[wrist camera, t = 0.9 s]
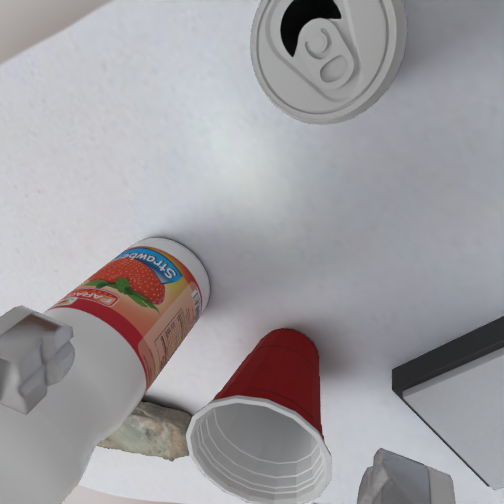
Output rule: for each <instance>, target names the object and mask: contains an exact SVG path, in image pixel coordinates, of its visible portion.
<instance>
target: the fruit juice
mask: <svg viewBox="0 0 504 504" xmlns="http://www.w3.org/2000/svg"><path fill="white" fill-rule="evenodd" d="M209 295H210V284H209V279H208V276H207V273H206V271H205V269H204V267H203V265H202V264H201V262H200V261H199V260H198V258H197V257H196V256H195V255H194V254H193V253H192V252H191V251H189V250H188V249H187V248H185V247H184V246H182V245H181V244H179V243H177V242H175V241H172V240H169V239H165V238H148V239H144V240H141V241H139V242H137V243H135V244H133V245H131V246H130V247H129V248H127V249H126V250H125V251H123V252H122V253H121V254H120V255H118V256H117V257H116V258H114V259H113V260H112V261H111V262H109V263H108V264H107V265H105V266H104V267H103V268H101V269H100V270H99V271H98V272H96V273H95V274H94V275H92V276H91V277H90V278H88V279H87V280H86V281H85V282H83V283H82V284H81V285H79V286H78V287H77V288H76V289H74V290H73V291H72V292H70V293H69V294H68V295H66V296H65V297H64V298H63V299H61V300H60V301H59V302H57V303H56V304H55V305H54V306H52V307H51V308H50V309H48V310H47V311H45V312H44V313H43V315H46V316H48V317H50V318H53V319H55V320H57V321H60V322H62V323H64V324H67V325H69V326H71V327H72V328H73V335H74V337H72V338H71V339H70V340H69V341H70V342H71V344H72V345H73V347H74V348H75V358H74V362H73V365H72V366H71V368H70V370H69V372H68V373H67V375H66V376H65V377H64V378H63V379H62V380H61V381H60V382H58V383H56V384H53V385H50V386H48V390H47V395H46V396H45V397H44V398H43V399H42V400H41V401H40V402H39V403H38V404H37V405H36V406H35V407H34V408H33V409H32V410H31V411H30V412H29V413H28V414H27V415H25V414H23V413H20V412H18V411H15V410H13V409H11V408H8V407H6V406H3V405H1V404H0V504H62V503H63V502H64V501H65V499H66V498H67V497H68V496H69V495H70V493H71V492H72V491H73V490H74V488H75V487H76V486H77V485H78V483H79V481H80V480H81V478H82V476H83V474H84V472H85V470H86V468H87V465H88V463H89V460H90V458H91V455H92V453H93V451H94V448H95V447H96V445H97V444H98V443H99V442H100V441H101V440H103V439H105V438H106V437H108V436H109V435H111V434H112V433H113V432H115V431H116V430H117V429H118V428H119V427H120V426H121V425H122V423H123V422H124V421H125V420H126V419H127V418H128V416H129V415H130V414H131V413H132V411H133V410H134V409H135V408H136V406H137V405H138V404H139V402H140V401H141V399H142V398H143V396H144V395H145V393H146V392H147V390H148V389H149V387H150V386H151V385H152V383H153V382H154V380H155V379H156V378H157V376H158V375H159V373H160V372H161V371H162V369H163V368H164V366H165V365H166V364H167V362H168V361H169V359H170V358H171V357H172V355H173V354H174V352H175V351H176V350H177V348H178V347H179V345H180V344H181V343H182V341H183V340H184V338H185V337H186V336H187V334H188V333H189V331H190V330H191V329H192V327H193V326H194V324H195V323H196V322H197V320H198V319H199V317H200V316H201V315H202V313H203V312H204V310H205V308H206V305H207V303H208V300H209Z"/></svg>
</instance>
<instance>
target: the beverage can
mask: <svg viewBox="0 0 504 504" xmlns="http://www.w3.org/2000/svg"><path fill="white" fill-rule="evenodd" d="M406 40H407V18H406V12H405V7H404V3H403V0H261V1H260V4H259V6H258V8H257V11H256V14H255V17H254V20H253V24H252V29H251V38H250V50H251V59H252V65H253V69H254V72H255V75H256V77H257V80H258V82H259V84H260V86H261V87H262V89H263V91H264V93H265V94H266V95H267V97H268V98H269V99H270V100H271V102H272V103H273V104H274V105H275V106H276V107H277V108H279V109H280V110H281V111H282V112H284V113H285V114H287V115H289V116H290V117H292V118H294V119H297V120H299V121H302V122H306V123H311V124H320V125H322V124H334V123H339V122H343V121H346V120H349V119H351V118H353V117H355V116H357V115H359V114H361V113H363V112H364V111H366V110H367V109H368V108H370V107H371V106H372V105H373V104H374V103H376V102H377V101H378V100H379V98H380V97H381V96H382V95H383V94H384V93H385V92H386V90H387V89H388V87H389V86H390V84H391V83H392V81H393V80H394V78H395V76H396V74H397V72H398V70H399V67H400V65H401V62H402V59H403V55H404V52H405V47H406Z"/></svg>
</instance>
